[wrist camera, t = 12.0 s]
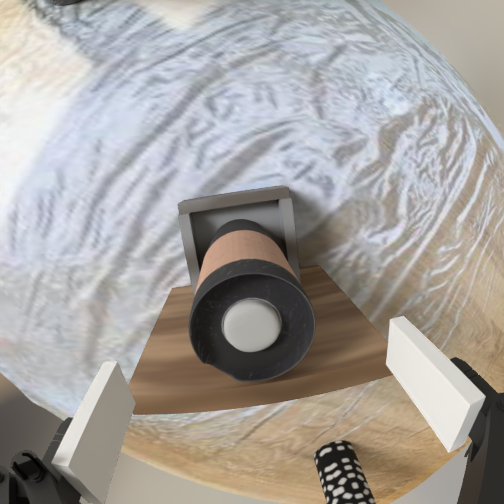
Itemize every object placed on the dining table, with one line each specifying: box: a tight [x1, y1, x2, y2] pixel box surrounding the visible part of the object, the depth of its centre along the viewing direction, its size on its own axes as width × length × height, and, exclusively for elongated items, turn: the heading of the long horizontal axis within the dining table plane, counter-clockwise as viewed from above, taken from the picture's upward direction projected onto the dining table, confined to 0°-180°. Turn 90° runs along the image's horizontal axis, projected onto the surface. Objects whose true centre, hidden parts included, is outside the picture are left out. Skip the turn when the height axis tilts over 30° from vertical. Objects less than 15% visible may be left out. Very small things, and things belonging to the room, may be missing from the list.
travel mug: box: [188, 219, 316, 382], centre depth 27 cm, size 8×8×20 cm
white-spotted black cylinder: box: [314, 441, 376, 504], centre depth 42 cm, size 8×8×20 cm
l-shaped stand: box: [128, 185, 393, 415], centre depth 29 cm, size 13×20×22 cm, turn 98°
